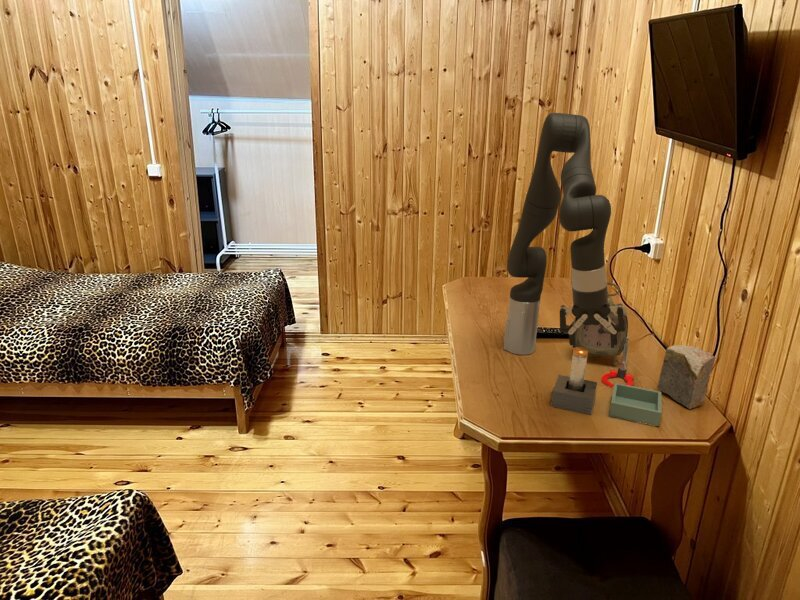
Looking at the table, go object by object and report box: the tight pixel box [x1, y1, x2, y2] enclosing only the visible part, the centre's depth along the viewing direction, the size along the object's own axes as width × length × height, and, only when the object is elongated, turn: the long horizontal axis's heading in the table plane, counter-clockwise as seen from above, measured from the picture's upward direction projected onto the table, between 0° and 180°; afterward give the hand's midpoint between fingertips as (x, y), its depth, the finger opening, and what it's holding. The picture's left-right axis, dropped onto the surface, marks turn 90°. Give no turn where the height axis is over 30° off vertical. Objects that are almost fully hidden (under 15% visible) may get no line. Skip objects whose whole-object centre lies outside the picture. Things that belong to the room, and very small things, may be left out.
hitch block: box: [550, 374, 598, 416], centre depth 150 cm, size 10×10×4 cm
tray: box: [608, 382, 663, 427], centre depth 147 cm, size 12×12×4 cm
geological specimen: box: [657, 344, 716, 410], centre depth 151 cm, size 11×6×15 cm, turn 24°
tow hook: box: [600, 336, 635, 388], centre depth 160 cm, size 8×13×9 cm
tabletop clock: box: [575, 281, 629, 367], centre depth 172 cm, size 14×9×25 cm, turn 72°
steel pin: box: [568, 347, 589, 392], centre depth 149 cm, size 4×4×15 cm
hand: (593, 346), depth 135 cm, fingers open, 8 cm apart
